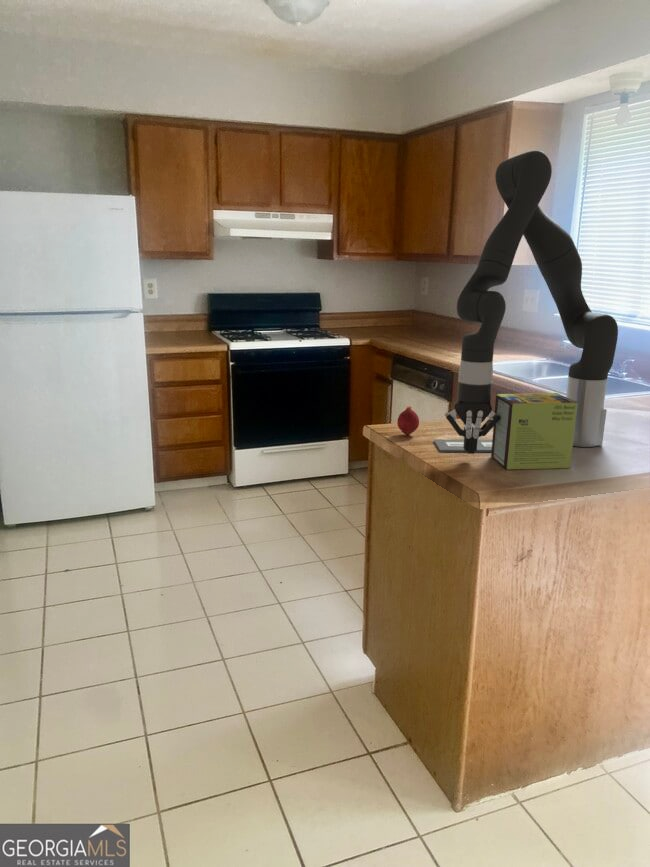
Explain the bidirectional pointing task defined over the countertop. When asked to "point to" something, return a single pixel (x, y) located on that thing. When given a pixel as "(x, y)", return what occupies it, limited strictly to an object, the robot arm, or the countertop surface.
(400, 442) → the countertop surface
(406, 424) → the onion
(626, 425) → the countertop surface
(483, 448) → the label panel
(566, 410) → the protein box
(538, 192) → the robot arm
